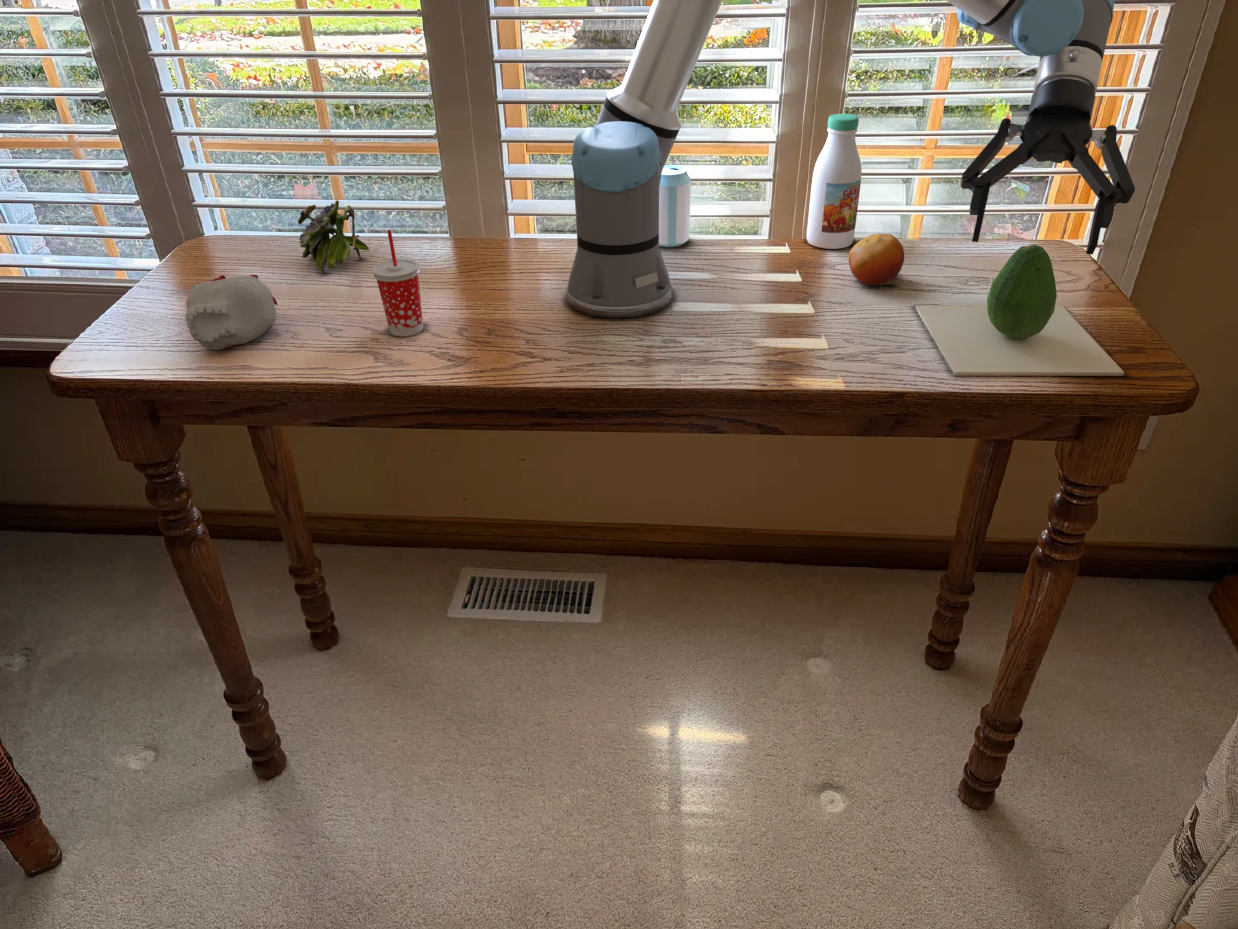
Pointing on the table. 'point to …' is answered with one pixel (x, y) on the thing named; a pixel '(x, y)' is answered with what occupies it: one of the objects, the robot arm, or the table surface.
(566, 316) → the table surface
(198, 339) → the grey rounded lump
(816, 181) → the milk bottle
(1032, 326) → the avocado
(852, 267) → the fruit
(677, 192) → the can
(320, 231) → the passion flower
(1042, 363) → the corner mat
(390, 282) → the beverage cup
